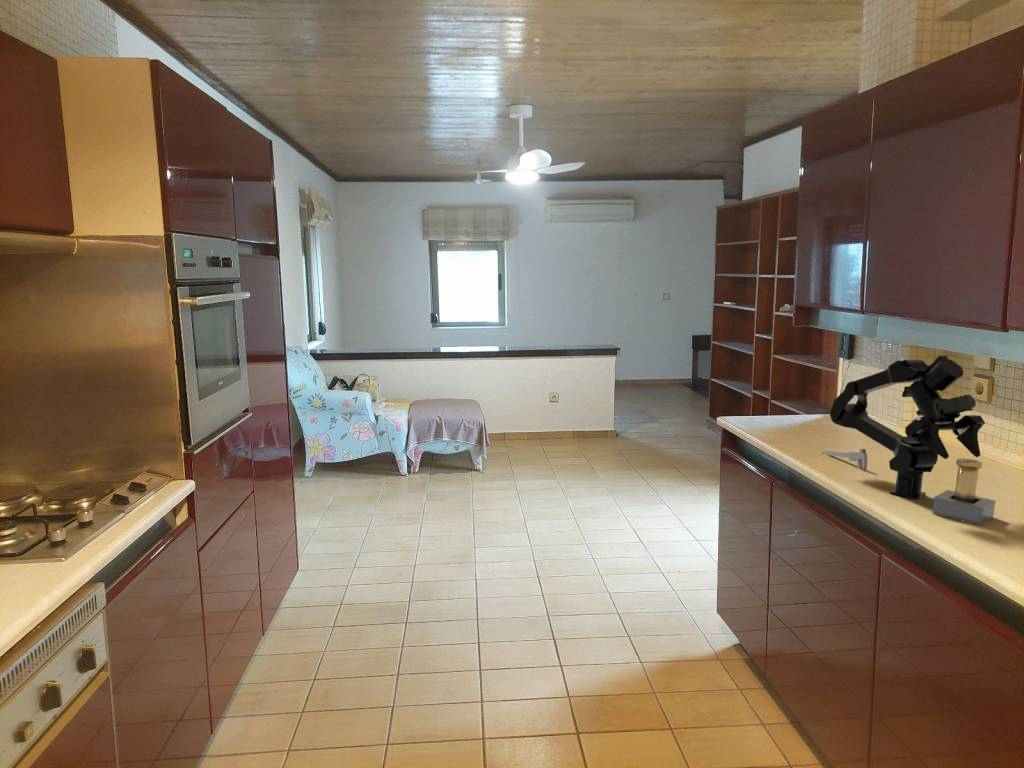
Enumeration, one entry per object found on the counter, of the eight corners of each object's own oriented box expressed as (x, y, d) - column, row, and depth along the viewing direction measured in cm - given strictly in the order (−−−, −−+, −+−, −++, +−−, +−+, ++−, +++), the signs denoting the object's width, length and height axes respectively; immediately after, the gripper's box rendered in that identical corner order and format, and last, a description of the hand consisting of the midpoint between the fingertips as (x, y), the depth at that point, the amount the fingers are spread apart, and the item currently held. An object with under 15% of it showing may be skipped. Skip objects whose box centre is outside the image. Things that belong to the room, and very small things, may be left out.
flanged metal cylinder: (947, 510, 171) (954, 457, 169) (972, 513, 170) (979, 459, 168) (952, 517, 167) (959, 462, 165) (977, 520, 165) (984, 465, 163)
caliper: (866, 471, 205) (868, 450, 204) (863, 471, 205) (865, 450, 204) (824, 453, 225) (826, 433, 224) (821, 453, 225) (823, 433, 224)
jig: (945, 506, 175) (947, 490, 174) (993, 517, 167) (995, 500, 167) (932, 513, 169) (934, 497, 168) (980, 525, 162) (983, 508, 161)
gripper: (920, 383, 168) (955, 440, 159) (982, 382, 173) (1020, 437, 164) (890, 410, 176) (922, 465, 168) (951, 408, 181) (984, 462, 173)
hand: (962, 457), depth 168 cm, fingers open, 9 cm apart
